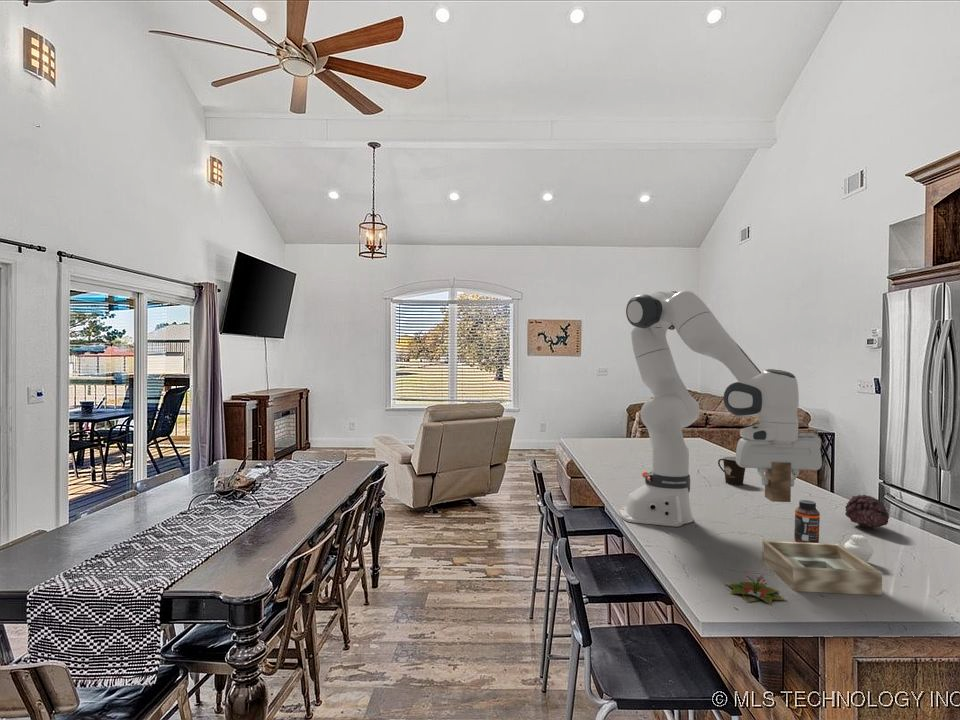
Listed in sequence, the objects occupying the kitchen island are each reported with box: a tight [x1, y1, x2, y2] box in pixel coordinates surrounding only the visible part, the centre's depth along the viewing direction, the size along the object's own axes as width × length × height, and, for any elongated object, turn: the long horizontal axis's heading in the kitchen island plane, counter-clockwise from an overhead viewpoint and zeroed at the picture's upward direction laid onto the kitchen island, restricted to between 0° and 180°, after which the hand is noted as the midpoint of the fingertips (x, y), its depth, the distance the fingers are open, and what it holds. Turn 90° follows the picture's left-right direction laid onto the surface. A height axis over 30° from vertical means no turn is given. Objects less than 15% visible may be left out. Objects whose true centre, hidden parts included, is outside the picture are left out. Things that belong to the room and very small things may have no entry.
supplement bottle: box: [793, 499, 821, 543], centre depth 154 cm, size 6×6×11 cm
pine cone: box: [845, 494, 890, 529], centre depth 167 cm, size 18×10×10 cm, turn 170°
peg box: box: [761, 540, 883, 596], centre depth 130 cm, size 18×18×5 cm
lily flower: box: [724, 571, 788, 606], centre depth 121 cm, size 12×12×5 cm
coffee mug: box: [717, 456, 746, 486], centre depth 224 cm, size 12×9×10 cm
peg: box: [764, 462, 792, 503], centre depth 144 cm, size 4×4×10 cm
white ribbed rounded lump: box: [843, 534, 875, 563], centre depth 140 cm, size 6×6×7 cm
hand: (777, 485), depth 144 cm, fingers closed on peg, 4 cm apart
